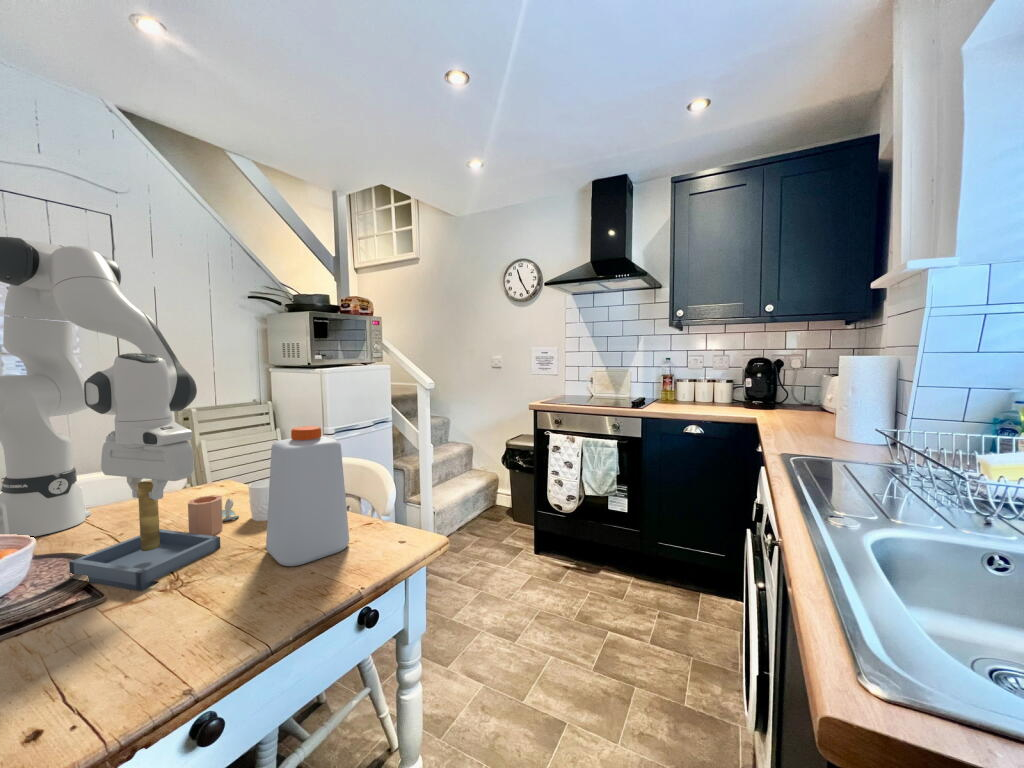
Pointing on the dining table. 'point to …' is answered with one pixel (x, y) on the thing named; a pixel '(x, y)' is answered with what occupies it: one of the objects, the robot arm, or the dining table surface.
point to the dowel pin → (148, 517)
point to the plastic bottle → (306, 498)
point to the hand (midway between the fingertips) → (148, 498)
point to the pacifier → (228, 510)
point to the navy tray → (143, 559)
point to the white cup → (259, 499)
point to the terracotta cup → (205, 515)
